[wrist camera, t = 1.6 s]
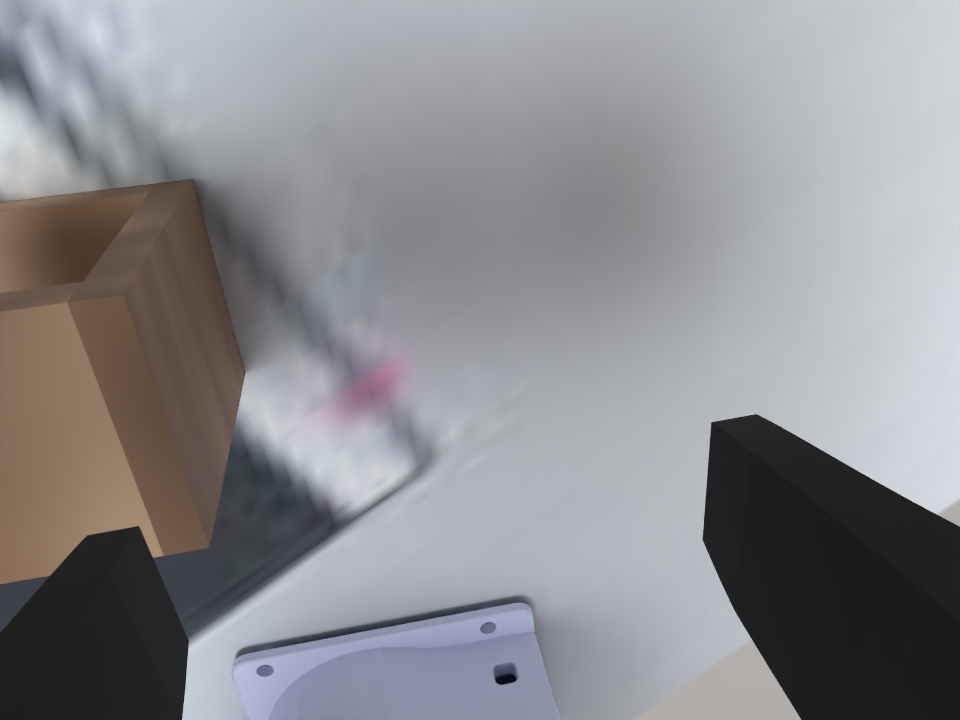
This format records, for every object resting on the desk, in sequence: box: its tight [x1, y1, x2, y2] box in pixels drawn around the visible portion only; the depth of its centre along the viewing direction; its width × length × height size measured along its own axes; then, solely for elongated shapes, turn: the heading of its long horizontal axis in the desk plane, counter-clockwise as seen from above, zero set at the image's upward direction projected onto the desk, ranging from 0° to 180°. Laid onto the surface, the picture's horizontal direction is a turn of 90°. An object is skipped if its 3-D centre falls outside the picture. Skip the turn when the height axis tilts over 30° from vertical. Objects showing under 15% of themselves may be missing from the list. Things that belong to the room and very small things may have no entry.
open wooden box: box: [0, 179, 245, 584], centre depth 15 cm, size 4×5×6 cm
